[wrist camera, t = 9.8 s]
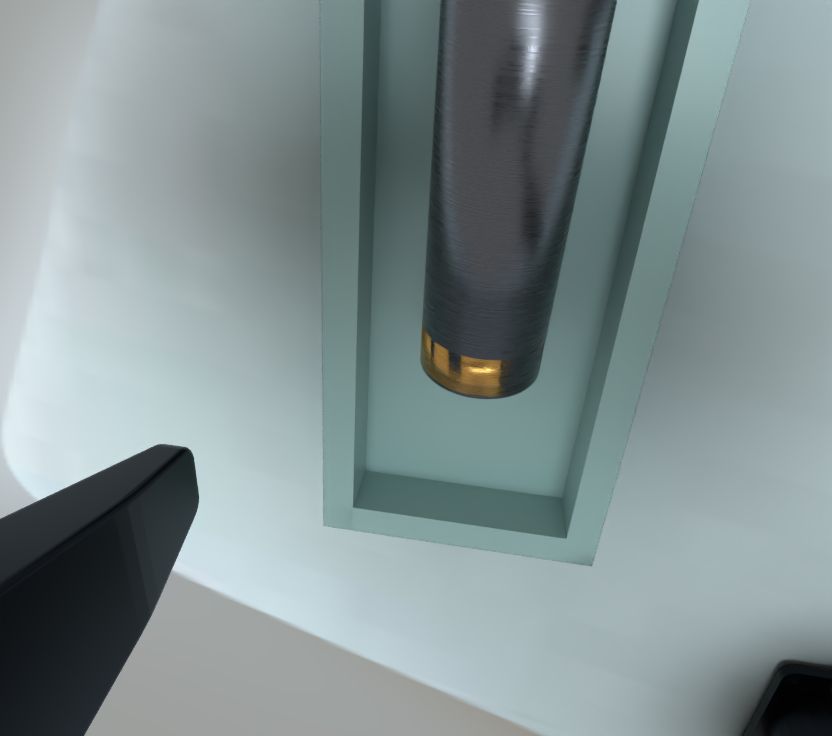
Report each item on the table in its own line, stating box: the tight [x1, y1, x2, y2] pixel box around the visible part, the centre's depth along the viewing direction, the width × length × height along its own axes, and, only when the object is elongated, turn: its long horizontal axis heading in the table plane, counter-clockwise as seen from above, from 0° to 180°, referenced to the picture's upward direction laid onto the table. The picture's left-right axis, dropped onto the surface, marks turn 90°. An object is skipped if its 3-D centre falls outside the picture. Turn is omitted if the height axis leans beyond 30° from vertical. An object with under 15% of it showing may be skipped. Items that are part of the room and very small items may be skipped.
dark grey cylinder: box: [420, 0, 617, 399], centre depth 13 cm, size 14×3×3 cm, turn 176°
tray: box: [320, 0, 750, 566], centre depth 17 cm, size 20×9×2 cm, turn 176°
